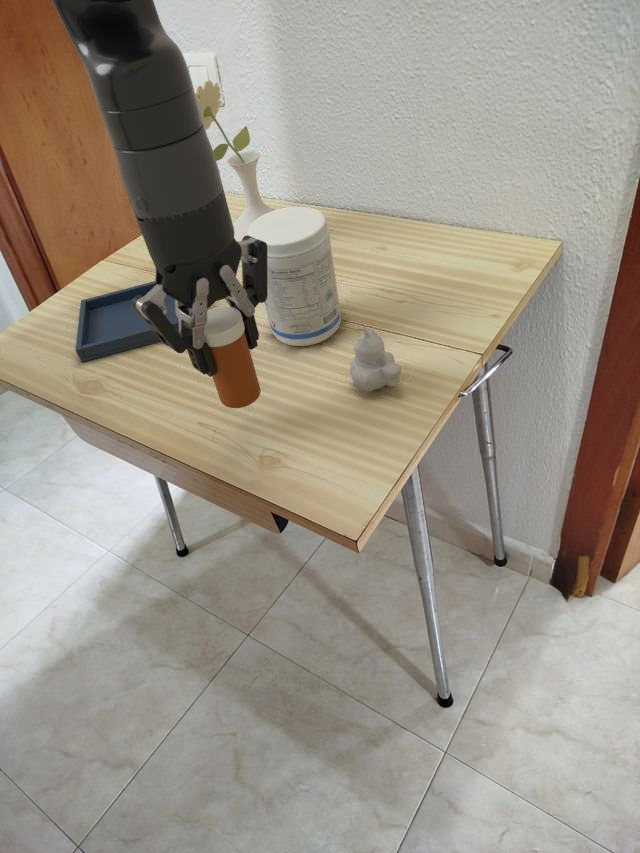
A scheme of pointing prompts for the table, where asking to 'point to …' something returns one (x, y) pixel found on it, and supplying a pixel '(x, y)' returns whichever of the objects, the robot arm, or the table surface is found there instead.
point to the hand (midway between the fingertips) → (229, 358)
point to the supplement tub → (299, 275)
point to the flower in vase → (234, 159)
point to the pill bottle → (231, 357)
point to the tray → (116, 323)
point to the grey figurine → (373, 363)
